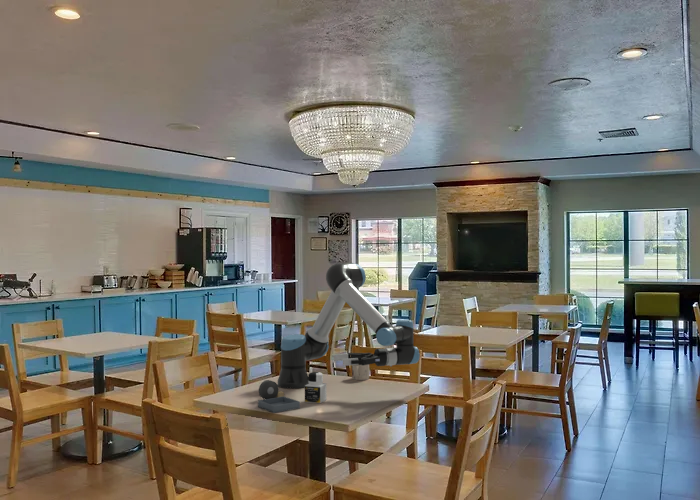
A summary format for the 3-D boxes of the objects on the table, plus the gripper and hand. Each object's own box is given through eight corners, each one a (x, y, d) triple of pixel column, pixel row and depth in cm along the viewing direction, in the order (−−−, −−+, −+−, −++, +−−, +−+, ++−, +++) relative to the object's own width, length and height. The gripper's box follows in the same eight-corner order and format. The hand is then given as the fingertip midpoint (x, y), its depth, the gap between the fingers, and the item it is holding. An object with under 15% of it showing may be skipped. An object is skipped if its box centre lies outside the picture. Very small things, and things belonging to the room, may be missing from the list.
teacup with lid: (354, 376, 310) (354, 353, 310) (371, 377, 307) (371, 354, 308) (347, 381, 298) (347, 357, 299) (365, 382, 296) (365, 358, 296)
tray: (258, 406, 246) (258, 400, 246) (283, 402, 254) (283, 396, 254) (273, 412, 237) (273, 406, 237) (299, 408, 244) (299, 401, 244)
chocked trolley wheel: (258, 400, 258) (258, 381, 258) (280, 396, 265) (280, 378, 265) (262, 401, 256) (262, 382, 256) (284, 397, 262) (284, 379, 262)
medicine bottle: (304, 402, 254) (304, 373, 254) (311, 398, 261) (311, 370, 261) (320, 403, 252) (320, 374, 252) (326, 400, 258) (326, 371, 258)
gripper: (395, 370, 254) (347, 373, 247) (375, 361, 277) (330, 364, 271) (395, 352, 254) (347, 355, 247) (374, 344, 278) (330, 347, 271)
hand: (338, 360), depth 259 cm, fingers open, 13 cm apart
